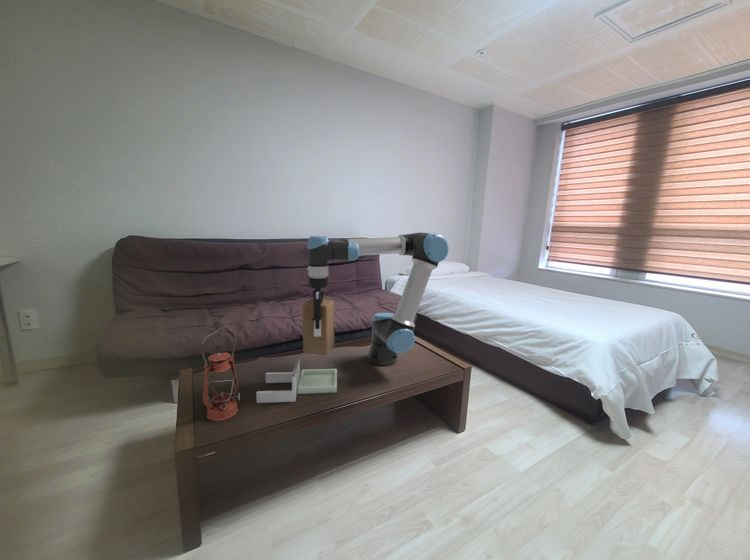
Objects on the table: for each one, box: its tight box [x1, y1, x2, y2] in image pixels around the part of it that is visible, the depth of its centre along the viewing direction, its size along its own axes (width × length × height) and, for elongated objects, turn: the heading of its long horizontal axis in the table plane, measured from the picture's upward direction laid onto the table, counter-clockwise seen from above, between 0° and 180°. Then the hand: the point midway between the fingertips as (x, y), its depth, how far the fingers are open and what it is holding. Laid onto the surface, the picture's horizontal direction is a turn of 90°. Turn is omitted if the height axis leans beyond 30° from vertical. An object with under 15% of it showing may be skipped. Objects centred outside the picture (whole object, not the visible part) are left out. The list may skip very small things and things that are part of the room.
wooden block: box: [301, 298, 335, 356], centre depth 120 cm, size 10×10×20 cm
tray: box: [297, 368, 338, 395], centre depth 124 cm, size 15×15×2 cm
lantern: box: [202, 327, 241, 422], centre depth 101 cm, size 10×10×30 cm
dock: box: [255, 356, 301, 404], centre depth 117 cm, size 14×15×11 cm
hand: (318, 330), depth 120 cm, fingers closed on wooden block, 11 cm apart
